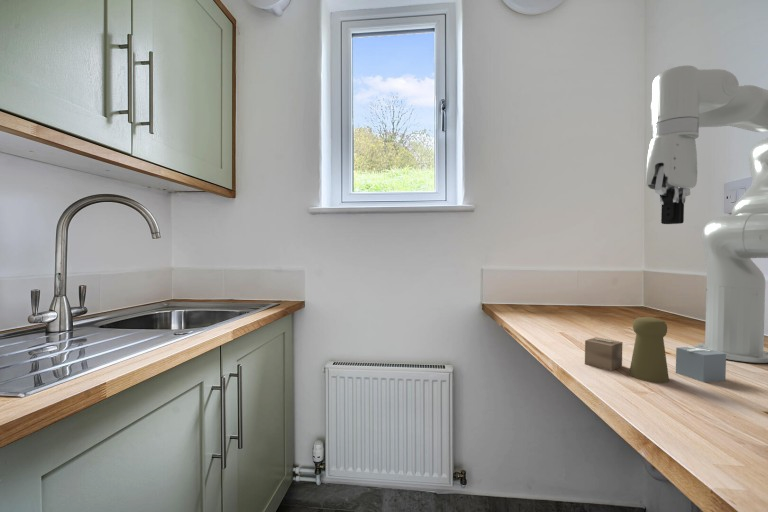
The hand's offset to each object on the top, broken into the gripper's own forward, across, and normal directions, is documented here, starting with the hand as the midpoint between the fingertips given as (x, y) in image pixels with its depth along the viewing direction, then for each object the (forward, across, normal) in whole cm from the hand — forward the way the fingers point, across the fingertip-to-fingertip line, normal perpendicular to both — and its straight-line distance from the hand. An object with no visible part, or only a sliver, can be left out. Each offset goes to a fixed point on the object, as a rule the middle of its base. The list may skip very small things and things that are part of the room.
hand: (672, 223), depth 74 cm
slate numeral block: (+29, +2, +6) cm, 30 cm away
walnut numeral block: (+29, +12, -6) cm, 32 cm away
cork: (+29, +11, +2) cm, 31 cm away
